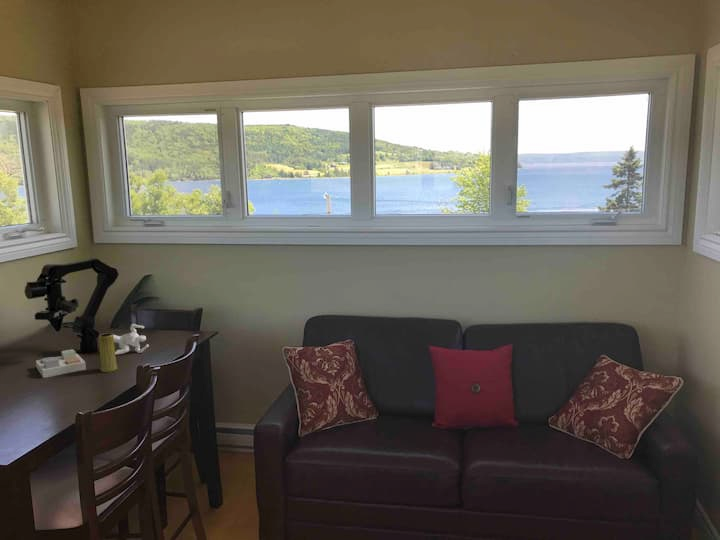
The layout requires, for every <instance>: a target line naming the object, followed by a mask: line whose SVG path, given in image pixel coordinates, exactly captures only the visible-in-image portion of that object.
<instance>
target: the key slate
mask: <svg viewBox="0 0 720 540" xmlns="http://www.w3.org/2000/svg"><path fill="white" fill-rule="evenodd" d="M49 358H54V356H49V357H43V358H40V360H41V363H42V364H44V359H49Z"/></svg>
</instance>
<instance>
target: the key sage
mask: <svg viewBox="0 0 720 540" xmlns="http://www.w3.org/2000/svg"><path fill="white" fill-rule="evenodd" d="M60 353H61V356H62V359H63V360H65V359H71V358H76V350H74V349H73V348H71V349H64V350H62V351H60Z"/></svg>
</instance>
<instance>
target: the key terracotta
mask: <svg viewBox="0 0 720 540" xmlns="http://www.w3.org/2000/svg"><path fill="white" fill-rule="evenodd" d="M65 361H66V364H67V365H68V364H73V363H79V362H80V359H79V358H78V357H76V358H71V359H65Z"/></svg>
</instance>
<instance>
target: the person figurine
mask: <svg viewBox="0 0 720 540" xmlns="http://www.w3.org/2000/svg"><path fill="white" fill-rule="evenodd" d="M136 328H139V329H145V326H144V325H140V324H139V325H138V324H135V323H132V324H131V325H130V327H129V331H131V332H128V333H124V334H123V335H116V334H113V338H114V344H118V347H119V348H120V349H117V350H115V356H116V355H122V354H123V355H124V354H126V353H128V352H130V346H131V347H134V350H135V352H137V353H138V354H142V353H143V352H144V351H145V350H146V349H147V348H149V344H148V343H147V344H146V345H145V346H144V347H142V348H140V347H141V346H140V342H145V341H147V337H146V335H143V334H142V335H139V333H137V329H136Z"/></svg>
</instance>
